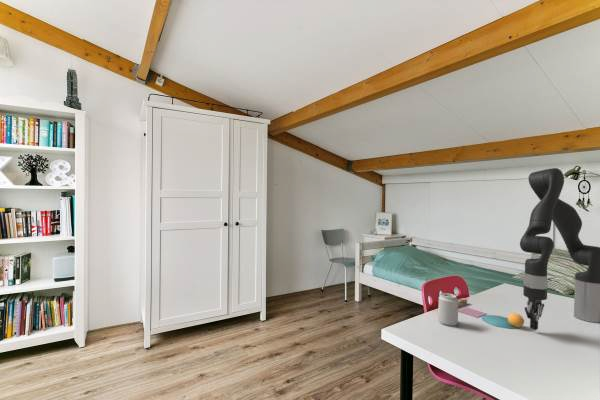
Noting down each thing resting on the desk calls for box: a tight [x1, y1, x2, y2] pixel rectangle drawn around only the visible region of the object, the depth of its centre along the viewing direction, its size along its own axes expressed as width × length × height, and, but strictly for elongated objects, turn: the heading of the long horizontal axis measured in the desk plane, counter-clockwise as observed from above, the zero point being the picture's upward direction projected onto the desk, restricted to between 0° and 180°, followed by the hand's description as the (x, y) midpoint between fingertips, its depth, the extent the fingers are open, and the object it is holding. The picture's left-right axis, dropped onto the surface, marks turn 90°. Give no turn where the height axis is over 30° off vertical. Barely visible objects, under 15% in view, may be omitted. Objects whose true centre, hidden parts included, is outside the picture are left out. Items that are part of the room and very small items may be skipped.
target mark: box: [481, 314, 521, 330], centre depth 130 cm, size 14×14×1 cm
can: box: [437, 292, 459, 327], centre depth 127 cm, size 8×8×12 cm
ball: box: [507, 312, 525, 328], centre depth 125 cm, size 6×6×6 cm
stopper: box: [457, 297, 468, 308], centre depth 147 cm, size 20×2×2 cm, turn 124°
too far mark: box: [458, 307, 488, 318], centre depth 140 cm, size 9×9×1 cm
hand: (533, 328), depth 120 cm, fingers closed
